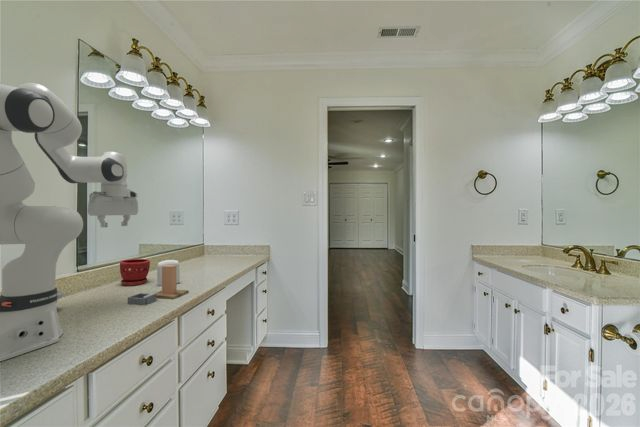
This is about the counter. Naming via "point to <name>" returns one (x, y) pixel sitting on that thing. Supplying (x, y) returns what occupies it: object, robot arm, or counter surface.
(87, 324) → the counter surface
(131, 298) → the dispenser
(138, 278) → the plant pot
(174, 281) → the tan rectangular prism
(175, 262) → the photo printer
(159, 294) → the pad
